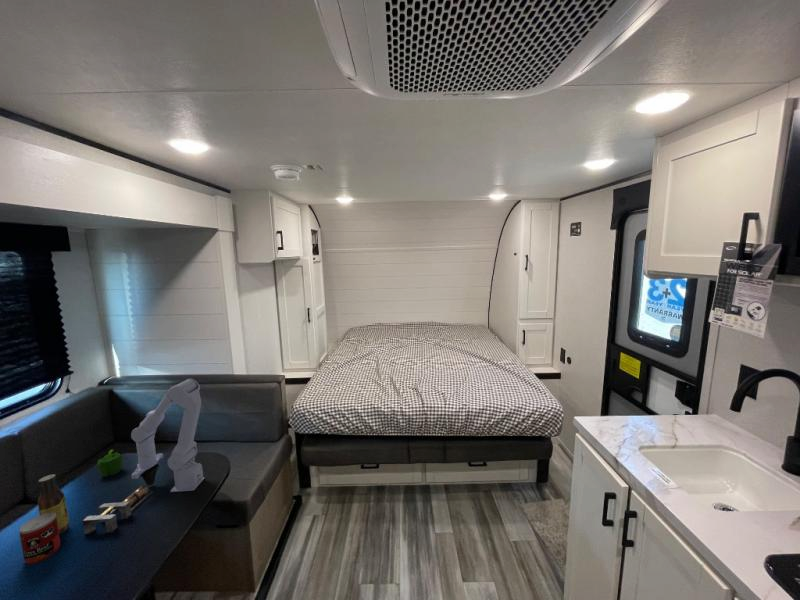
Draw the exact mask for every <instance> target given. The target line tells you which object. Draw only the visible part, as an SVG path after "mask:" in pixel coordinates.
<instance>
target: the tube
mask: <svg viewBox="0 0 800 600" xmlns="http://www.w3.org/2000/svg"><path fill="white" fill-rule="evenodd" d="M133 492H134V493H133ZM133 492H132V493H133V494H132V493H130V494H129V497H128V496H127V497H128V498H127V497H126V498H127V499H126V498H125V499H126V500H125V499H124V500H123V501H122V502H130V506H131V507H133V506H134V505H135V504H137V503H138V502H139V501H140V500H141V499H142V498H143V497H144V496H145V495H146V494H148V492H149V489H148V487H147V485H141V486H140V487H139V488H137V489H136V490H135V491H133ZM117 511H119V512H120V509H118V510H117Z"/></svg>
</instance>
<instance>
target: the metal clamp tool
mask: <svg viewBox="0 0 800 600" xmlns="http://www.w3.org/2000/svg"><path fill="white" fill-rule="evenodd" d="M134 492H135V491H133V492H132V493H131V494H133V493H134ZM153 493H154V490H153V489H152V490H150V491H148V492H147V493H146V494H144V495H143V496H142V497H141V498H140V499H139V500H138V501H137V502H136V503H135V504H133V505H132V506H130V502H123V501H121V502H108V503H103V504H101V505H99V507H98V515H88V516H86V517H85V518H84V519H83V520H82V526H83V527H82V528H83V532H84V535H91V534H92V533H94V531H95V530H96V529H97V527H96V523H105V530H106V533H108V534H109V532H110V533H113V532H115V531H116V530H117V529H118V528H117V527H118V522H117V520H118V519H117V514H116V512H117V511H119V510H118V509H120V511H119V512H120V519H121V520H124V519H125V520H127V519H128V518H130V517H131V516H132V514H133V512H134V511H135V510H136V509H137V508H138V507H139V506H140V505H141V504H142V503H143V502H145V500H146V499H148V498H149V497H150V496H151V495H152V494H153ZM129 496H130V495H129ZM129 496H127V497H126V498H125V499H124V500H126V499H127V498H128V497H129ZM114 513H115V514H114ZM129 516H130V517H129ZM116 528H117V529H116ZM115 529H116V530H115ZM114 530H115V531H114Z"/></svg>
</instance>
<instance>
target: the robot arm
mask: <svg viewBox="0 0 800 600" xmlns="http://www.w3.org/2000/svg"><path fill="white" fill-rule="evenodd" d="M200 390H201V385H200V384H199V383H198V381H197V380H195V379H194V378H187V379H185V380H184V381H182V382H180V383H178V384H175V385H173V386H171V387H170V388H169V389H168V390H167V391H166V392H165V395H163V398H162V399H161V401H160V402H159V404H158V405H157V407H156V408H155V409H154V410H153V409H152V410H151V411H149V412H146V414H145V416H146V417H145V418H144V419H143V420H142V421H141V422H139V426H138V427H135V428H134V429H132V431H131V434H130V437H131V440H133V442H135V444H136V445H135V446H136V454H137V460H138V461H137V462H138V463H137V464H136V469H135V470H134V472H132V474H131V479H132V480H136V479H139V477H141V478H142V479H143V481H144V482H145V484H146V486H153V485H154V484H155V481H156V480H155V479H156V475H157V472H158V469H159V467H160V465H159V463H158V462H159V460H161V459H163V458H164V454H163V453H157V452H156V445H155V444H156V443H155V438H156V435H155V434H156V433H157V431H158V430H157V429H158V426H160V424H161V423H162V421H163V420H164V419H165V417H166V416H165V413H166V411H168V409H169V408H170V407H171V406H172V405H173V403H174V404H175V405H178V406H180V407H181V408H184V409H183V414H182V415H183V416H182V419H181V425H180V430H179V434H178V439H177V444H176V445H175V447H174V448H173V450H172V451H171V453H170V457H168V459H167V461H166V463H167V466H168V468H169V469H171V470H172V471H173V478H174V486H173V487H172V488H171V489H170V493H176V492H190V491H191V492H192V491H195V490H196V489H197V487H198V486H199V485H200V484H201V483H202V482H203V481H204V479H205V477H204V472H203V465H202V464H201V462H200V463H199V462H196V461H195V460H196V458H195V457H196V456H197V455H198V448H197V444H198V443H197V442H196V441H195V440H194V439H195V435H196V431H197V425H198V421H199V417H200V413H201V408H202V399H201V394H200Z"/></svg>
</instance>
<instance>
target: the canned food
mask: <svg viewBox="0 0 800 600" xmlns="http://www.w3.org/2000/svg"><path fill="white" fill-rule="evenodd" d="M19 538H20V543H21V544H20V545H21V550H22V556H23V561H24V563H25V564H26V565H33V564H37V563H40V562H42V561H44V560H46V559H48V558H49V557H51V556H52V555H53V554H55V553H56V552H58V550H59V549H60V546H61V537H60V534H59V530H58V523H57V517H56V514H55V513H52V512H51V513H46V514H42V515H37V516H35V517H34V518H32V519H30V520H28V521H26V522H25V523H24V524H23V525H21V526H20V527H19Z"/></svg>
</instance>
